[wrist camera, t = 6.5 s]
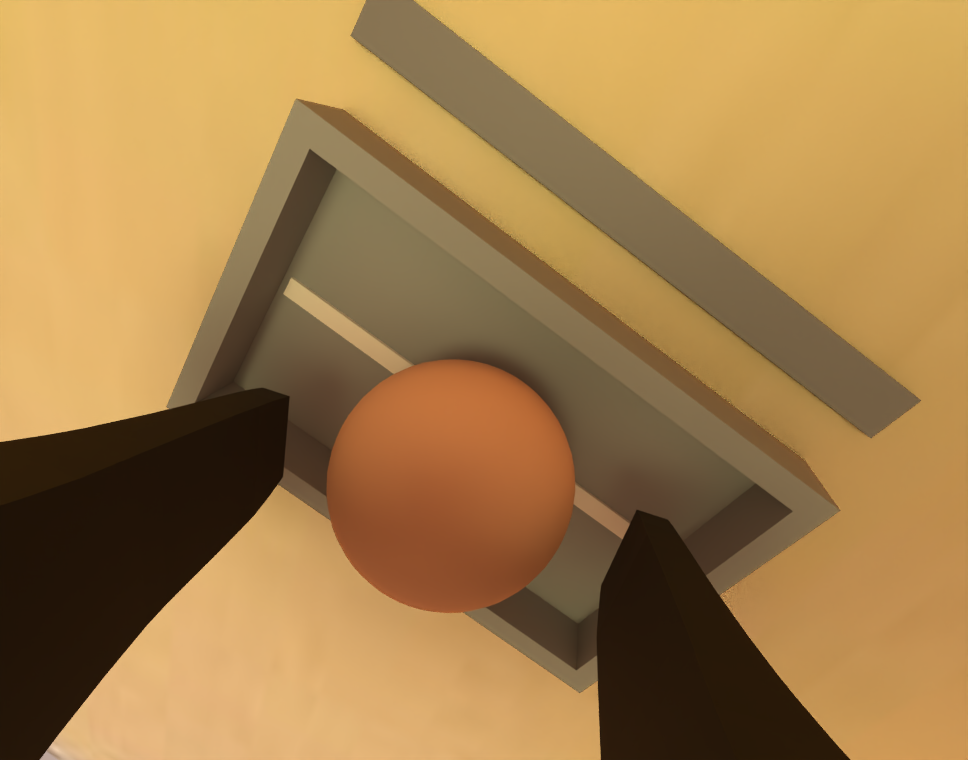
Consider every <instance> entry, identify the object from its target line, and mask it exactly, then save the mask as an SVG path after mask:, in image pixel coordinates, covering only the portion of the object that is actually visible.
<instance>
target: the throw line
mask: <svg viewBox="0 0 968 760" xmlns="http://www.w3.org/2000/svg"><path fill="white" fill-rule="evenodd" d="M351 36H352V37H353V38H354V39H355V40H357V41H358V42H359V43H361V44H362V45H363V46H364V47H366V48H367V49H368V50H370V51H371V52H372V53H374V54H375V55H376V56H377V57H379V58H380V59H381V60H383V61H384V62H385V63H386V64H388V65H389V66H390V67H392V68H393V69H394V70H395V71H397V72H398V73H399V74H401V75H402V76H403V77H405V78H406V79H407V80H408V81H410V82H411V83H412V84H414V85H415V86H416V87H417V88H419V89H420V90H421V91H423V92H424V93H425V94H426V95H428V96H429V97H430V98H432V99H433V100H434V101H436V102H437V103H438V104H439V105H441V106H442V107H443V108H445V109H446V110H447V111H448V112H450V113H451V114H452V115H454V116H455V117H456V118H458V119H459V120H460V121H461V122H463V123H464V124H465V125H467V126H468V127H469V128H470V129H472V130H473V131H474V132H476V133H477V134H478V135H479V136H481V137H482V138H483V139H485V140H486V141H487V142H489V143H490V144H491V145H492V146H494V147H495V148H496V149H498V150H499V151H500V152H501V153H503V154H504V155H505V156H507V157H508V158H509V159H510V160H512V161H513V162H514V163H516V164H517V165H518V166H520V167H521V168H522V169H523V170H525V171H526V172H527V173H529V174H530V175H531V176H532V177H534V178H535V179H536V180H538V181H539V182H540V183H542V184H543V185H544V186H545V187H547V188H548V189H549V190H551V191H552V192H553V193H554V194H556V195H557V196H558V197H560V198H561V199H562V200H563V201H565V202H566V203H567V204H569V205H570V206H571V207H573V208H574V209H575V210H576V211H578V212H579V213H580V214H582V215H583V216H584V217H585V218H587V219H588V220H589V221H591V222H592V223H593V224H594V225H596V226H597V227H598V228H600V229H601V230H602V231H604V232H605V233H606V234H607V235H609V236H610V237H611V238H613V239H614V240H615V241H616V242H618V243H619V244H620V245H622V246H623V247H624V248H626V249H627V250H628V251H629V252H631V253H632V254H633V255H635V256H636V257H637V258H638V259H640V260H641V261H642V262H644V263H645V264H646V265H647V266H649V267H650V268H651V269H653V270H654V271H655V272H657V273H658V274H659V275H660V276H662V277H663V278H664V279H666V280H667V281H668V282H669V283H671V284H672V285H673V286H675V287H676V288H677V289H679V290H680V291H681V292H682V293H684V294H685V295H686V296H688V297H689V298H690V299H691V300H693V301H694V302H695V303H697V304H698V305H699V306H700V307H702V308H703V309H704V310H706V311H707V312H708V313H710V314H711V315H712V316H713V317H715V318H716V319H717V320H719V321H720V322H721V323H722V324H724V325H725V326H726V327H728V328H729V329H730V330H731V331H733V332H734V333H735V334H737V335H738V336H739V337H741V338H742V339H743V340H744V341H746V342H747V343H748V344H750V345H751V346H752V347H753V348H755V349H756V350H757V351H759V352H760V353H761V354H763V355H764V356H765V357H766V358H768V359H769V360H770V361H772V362H773V363H774V364H775V365H777V366H778V367H779V368H781V369H782V370H783V371H784V372H786V373H787V374H788V375H790V376H791V377H792V378H794V379H795V380H796V381H797V382H799V383H800V384H801V385H803V386H804V387H805V388H806V389H808V390H809V391H810V392H812V393H813V394H814V395H815V396H817V397H818V398H819V399H821V400H822V401H823V402H825V403H826V404H827V405H828V406H830V407H831V408H832V409H834V410H835V411H836V412H837V413H839V414H840V415H841V416H843V417H844V418H845V419H847V420H848V421H849V422H850V423H852V424H853V425H854V426H856V427H857V428H858V429H859V430H861V431H862V432H863V433H865V434H866V435H867V436H868V437H870V438H872V437H873V436H875V435H876V434H877V433H879V432H880V431H881V430H883V429H884V428H885V427H887V426H888V425H889V424H891V423H892V422H893V421H895V420H896V419H897V418H899V417H900V416H901V415H903V414H904V413H905V412H907V411H908V410H909V409H911V408H912V407H913V406H915V405H916V404H917V403H919V402H920V401H921V400H920V399H918V398H917V397H916V396H915V395H913V394H912V393H911V392H910V391H908V390H907V389H906V388H905V387H903V386H902V385H901V384H899V383H898V382H897V381H896V380H894V379H893V378H892V377H891V376H889V375H888V374H887V373H885V372H884V371H883V370H882V369H880V368H879V367H878V366H877V365H875V364H874V363H873V362H871V361H870V360H869V359H868V358H866V357H865V356H864V355H863V354H861V353H860V352H859V351H858V350H856V349H855V348H854V347H852V346H851V345H850V344H849V343H847V342H846V341H845V340H844V339H842V338H841V337H840V336H838V335H837V334H836V333H835V332H833V331H832V330H831V329H830V328H828V327H827V326H826V325H825V324H823V323H822V322H821V321H819V320H818V319H817V318H816V317H814V316H813V315H812V314H811V313H809V312H808V311H807V310H805V309H804V308H803V307H802V306H800V305H799V304H798V303H797V302H795V301H794V300H793V299H792V298H790V297H789V296H788V295H786V294H785V293H784V292H783V291H781V290H780V289H779V288H778V287H776V286H775V285H774V284H772V283H771V282H770V281H769V280H767V279H766V278H765V277H764V276H762V275H761V274H760V273H758V272H757V271H756V270H755V269H753V268H752V267H751V266H750V265H748V264H747V263H746V262H745V261H743V260H742V259H741V258H739V257H738V256H737V255H736V254H734V253H733V252H732V251H731V250H729V249H728V248H727V247H725V246H724V245H723V244H722V243H720V242H719V241H718V240H717V239H715V238H714V237H713V236H712V235H710V234H709V233H708V232H706V231H705V230H704V229H703V228H701V227H700V226H699V225H698V224H696V223H695V222H694V221H692V220H691V219H690V218H689V217H687V216H686V215H685V214H684V213H682V212H681V211H680V210H679V209H677V208H676V207H675V206H673V205H672V204H671V203H670V202H668V201H667V200H666V199H665V198H663V197H662V196H661V195H659V194H658V193H657V192H656V191H654V190H653V189H652V188H651V187H649V186H648V185H647V184H645V183H644V182H643V181H642V180H640V179H639V178H638V177H637V176H635V175H634V174H633V173H632V172H630V171H629V170H628V169H626V168H625V167H624V166H623V165H621V164H620V163H619V162H618V161H616V160H615V159H614V158H612V157H611V156H610V155H609V154H607V153H606V152H605V151H604V150H602V149H601V148H600V147H599V146H597V145H596V144H595V143H593V142H592V141H591V140H590V139H588V138H587V137H586V136H585V135H583V134H582V133H581V132H579V131H578V130H577V129H576V128H574V127H573V126H572V125H571V124H569V123H568V122H567V121H566V120H564V119H563V118H562V117H560V116H559V115H558V114H557V113H555V112H554V111H553V110H552V109H550V108H549V107H548V106H546V105H545V104H544V103H543V102H541V101H540V100H539V99H538V98H536V97H535V96H534V95H532V94H531V93H530V92H529V91H527V90H526V89H525V88H524V87H522V86H521V85H520V84H519V83H517V82H516V81H515V80H513V79H512V78H511V77H510V76H508V75H507V74H506V73H505V72H503V71H502V70H501V69H499V68H498V67H497V66H496V65H494V64H493V63H492V62H491V61H489V60H488V59H487V58H486V57H484V56H483V55H482V54H480V53H479V52H478V51H477V50H475V49H474V48H473V47H472V46H470V45H469V44H468V43H466V42H465V41H464V40H463V39H461V38H460V37H459V36H458V35H456V34H455V33H454V32H453V31H451V30H450V29H449V28H447V27H446V26H445V25H444V24H442V23H441V22H440V21H439V20H437V19H436V18H435V17H433V16H432V15H431V14H430V13H428V12H427V11H426V10H425V9H423V8H422V7H421V6H419V5H418V4H417V3H416V2H414V1H413V0H366V2H365V5H364V7H363V9H362V11H361V14H360V16H359V18H358V20H357V23H356V25H355V27H354V29H353V32H352V34H351Z"/></svg>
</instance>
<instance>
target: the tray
mask: <svg viewBox="0 0 968 760" xmlns="http://www.w3.org/2000/svg"><path fill="white" fill-rule="evenodd" d="M449 359H460V360H470V361H476V362H480V363H484V364H488V365H491V366H494V367H496V368H499V369H502V370H503V371H505V372H507V373H509V374H511V375H513V376H515V377H517V378H518V379H519V380H521V381H522V382H524V383H525V384H527V385H528V386H529V387H530V388H531V389H533V390H534V391H535V392H536V393H537V394H538V395H539V396H540V397H541V398H542V399H543V401H544V402H545V403H546V404H547V405H548V406H549V408H550V409H551V411H552V412H553V413H554V415H555V416H556V418H557V419H558V421H559V423H560V425H561V427H562V429H563V431H564V433H565V436H566V438H567V441H568V444H569V447H570V450H571V453H572V458H573V464H574V471H575V496H574V504H573V510H572V516H571V519H570V522H569V525H568V528H567V531H566V533H565V536H564V538H563V540H562V542H561V544H560V546H559V548H558V550H557V551H556V553H555V554H554V556H553V557H552V559H551V560H550V562H549V563H548V564H547V566H546V567H545V568H544V569H543V570H542V571H541V572H540V573H539V574H538V575H537V576H536V577H535V578H534V579H533V580H532V581H531V582H530V583H529V584H528V585H527V586H525V587H524V588H523V589H521V590H520V591H519V592H517V593H515V594H514V595H512V596H510V597H508V598H506V599H505V600H503V601H501V602H499V603H496V604H493V605H491V606H488V607H484V608H481V609H477V610H472V611H467V612H463V613H465V614H466V615H468V616H469V617H471V618H472V619H474V620H475V621H476V622H478V623H479V624H481V625H482V626H484V627H485V628H487V629H488V630H489V631H491V632H492V633H494V634H495V635H497V636H498V637H500V638H501V639H502V640H504V641H505V642H507V643H508V644H510V645H511V646H513V647H514V648H515V649H517V650H518V651H520V652H521V653H523V654H524V655H526V656H527V657H528V658H530V659H531V660H533V661H534V662H536V663H537V664H539V665H540V666H541V667H543V668H544V669H546V670H547V671H549V672H550V673H552V674H553V675H554V676H556V677H557V678H559V679H560V680H562V681H563V682H565V683H566V684H567V685H569V686H570V687H572V688H573V689H575V690H576V691H578V692H579V693H581V692H582V691H583V690H585V689H586V688H588V687H589V686H591V685H592V684H593V683H595V682H596V681H598V671H597V638H596V636H597V622H598V610H599V600H600V589H601V584H602V582H603V580H604V578H605V576H606V574H607V572H608V569H609V567H610V565H611V563H612V561H613V559H614V557H615V555H616V552H617V550H618V548H619V546H620V544H621V542H622V540H623V538H624V535H625V533H626V531H627V529H628V527H629V525H630V523H631V521H632V518H633V516H634V514H635V512H636V510H640V511H643V512H646V513H649V514H652V515H655V516H658V517H662V518H665V519H668V520H669V521H670V523H671V524H672V525H673V527H674V528H675V530H676V531H677V533H678V534H679V536H680V537H681V539H682V540H683V542H684V543H685V545H686V546H687V548H688V549H689V551H690V552H691V554H692V555H693V557H694V558H695V560H696V561H697V563H698V564H699V566H700V567H701V569H702V570H703V572H704V573H705V575H706V576H707V578H708V579H709V581H710V582H711V584H712V585H713V587H714V588H715V590H716V591H717V593H718V594H719V595H721V594H722V593H723V592H725V591H726V590H728V589H729V588H731V587H732V586H733V585H735V584H736V583H738V582H739V581H741V580H742V579H743V578H745V577H746V576H748V575H749V574H751V573H752V572H753V571H755V570H756V569H758V568H759V567H761V566H762V565H763V564H765V563H766V562H768V561H769V560H771V559H772V558H773V557H775V556H776V555H778V554H779V553H781V552H782V551H783V550H785V549H786V548H788V547H789V546H791V545H792V544H793V543H795V542H796V541H798V540H799V539H801V538H802V537H803V536H805V535H806V534H808V533H809V532H811V531H812V530H813V529H815V528H816V527H818V526H819V525H821V524H822V523H823V522H825V521H826V520H828V519H829V518H831V517H832V516H833V515H835V514H836V513H838V512H839V511H840V509H839V508H838V506H837V505H836V504H835V502H834V501H833V499H832V498H831V497H830V495H829V494H828V492H827V491H826V490H825V488H824V487H823V485H822V484H821V483H820V481H819V480H818V479H817V477H816V476H815V474H814V473H813V472H812V470H811V469H810V467H809V466H808V465H807V463H806V462H805V461H804V460H803V459H802V458H800V457H799V456H798V455H796V454H795V453H794V452H793V451H791V450H790V449H789V448H787V447H786V446H785V445H783V444H782V443H781V442H779V441H778V440H777V439H775V438H774V437H773V436H771V435H770V434H769V433H768V432H766V431H765V430H764V429H762V428H761V427H760V426H758V425H757V424H756V423H754V422H753V421H752V420H750V419H749V418H748V417H746V416H745V415H744V414H743V413H741V412H740V411H739V410H737V409H736V408H735V407H733V406H732V405H731V404H729V403H728V402H727V401H725V400H724V399H723V398H722V397H720V396H719V395H718V394H716V393H715V392H714V391H712V390H711V389H710V388H708V387H707V386H706V385H704V384H703V383H702V382H700V381H699V380H698V379H697V378H695V377H694V376H693V375H691V374H690V373H689V372H687V371H686V370H685V369H683V368H682V367H681V366H679V365H678V364H677V363H676V362H674V361H673V360H672V359H670V358H669V357H668V356H666V355H665V354H664V353H662V352H661V351H660V350H658V349H657V348H656V347H654V346H653V345H652V344H651V343H649V342H648V341H647V340H645V339H644V338H643V337H641V336H640V335H639V334H637V333H636V332H635V331H633V330H632V329H631V328H630V327H628V326H627V325H626V324H624V323H623V322H622V321H620V320H619V319H618V318H616V317H615V316H614V315H612V314H611V313H610V312H608V311H607V310H606V309H605V308H603V307H602V306H601V305H599V304H598V303H597V302H595V301H594V300H593V299H591V298H590V297H589V296H587V295H586V294H585V293H584V292H582V291H581V290H580V289H578V288H577V287H576V286H574V285H573V284H572V283H570V282H569V281H568V280H566V279H565V278H564V277H562V276H561V275H560V274H559V273H557V272H556V271H555V270H553V269H552V268H551V267H549V266H548V265H547V264H545V263H544V262H543V261H541V260H540V259H539V258H538V257H536V256H535V255H534V254H532V253H531V252H530V251H528V250H527V249H526V248H524V247H523V246H522V245H520V244H519V243H518V242H516V241H515V240H514V239H513V238H511V237H510V236H509V235H507V234H506V233H505V232H503V231H502V230H501V229H499V228H498V227H497V226H495V225H494V224H493V223H491V222H490V221H489V220H488V219H486V218H485V217H484V216H482V215H481V214H480V213H478V212H477V211H476V210H474V209H473V208H472V207H470V206H469V205H468V204H467V203H465V202H464V201H463V200H461V199H460V198H459V197H457V196H456V195H455V194H453V193H452V192H451V191H449V190H448V189H447V188H445V187H444V186H443V185H442V184H440V183H439V182H438V181H436V180H435V179H434V178H432V177H431V176H430V175H428V174H427V173H426V172H424V171H423V170H422V169H421V168H419V167H418V166H417V165H415V164H414V163H413V162H411V161H410V160H409V159H407V158H406V157H405V156H403V155H402V154H401V153H399V152H398V151H397V150H396V149H394V148H393V147H392V146H390V145H389V144H388V143H386V142H385V141H384V140H382V139H381V138H380V137H378V136H377V135H376V134H375V133H373V132H372V131H371V130H369V129H368V128H367V127H365V126H364V125H363V124H361V123H360V122H359V121H357V120H356V119H355V118H353V117H352V116H351V115H350V114H348V113H347V112H346V111H344V110H342V109H338V108H334V107H330V106H325V105H321V104H317V103H313V102H308V101H304V100H300V99H296V100H295V102H294V104H293V107H292V109H291V112H290V114H289V116H288V119H287V121H286V124H285V126H284V128H283V131H282V133H281V135H280V138H279V140H278V143H277V145H276V147H275V150H274V152H273V154H272V157H271V159H270V162H269V164H268V166H267V169H266V171H265V174H264V176H263V178H262V181H261V183H260V185H259V188H258V190H257V193H256V195H255V197H254V200H253V202H252V205H251V207H250V209H249V212H248V214H247V216H246V219H245V221H244V224H243V226H242V228H241V231H240V233H239V235H238V238H237V240H236V243H235V245H234V247H233V250H232V252H231V255H230V257H229V259H228V262H227V264H226V266H225V269H224V271H223V274H222V276H221V278H220V281H219V283H218V285H217V288H216V290H215V293H214V295H213V297H212V300H211V302H210V305H209V307H208V309H207V312H206V314H205V316H204V319H203V321H202V324H201V326H200V328H199V331H198V333H197V336H196V338H195V340H194V343H193V345H192V347H191V350H190V352H189V355H188V357H187V359H186V362H185V364H184V366H183V369H182V371H181V374H180V376H179V378H178V381H177V383H176V386H175V388H174V390H173V393H172V395H171V397H170V400H169V402H168V405H167V408H169V409H172V408H176V407H180V406H184V405H188V404H192V403H196V402H200V401H204V400H207V399H211V398H215V397H219V396H223V395H228V394H232V393H236V392H240V391H245V390H250V389H256V388H262V387H263V388H266V389H269V390H272V391H275V392H278V393H281V394H284V395H287V396H290V400H289V412H288V424H287V436H286V448H285V461H284V473H283V478H282V479H281V481H280V482H279V483H278V485H280V486H281V487H283V488H284V489H286V490H287V491H289V492H290V493H291V494H293V495H294V496H296V497H297V498H299V499H300V500H302V501H303V502H304V503H306V504H307V505H309V506H310V507H312V508H313V509H315V510H316V511H317V512H319V513H320V514H322V515H323V516H325V517H326V518H328V519H329V520H330V521H331V519H330V514H329V510H328V504H327V471H328V466H329V461H330V457H331V452H332V448H333V446H334V443H335V440H336V438H337V436H338V433H339V431H340V429H341V427H342V425H343V424H344V422H345V420H346V419H347V417H348V415H349V414H350V413H351V411H352V410H353V409H354V407H355V406H356V405H357V404H358V403H359V401H360V400H361V399H362V398H363V397H364V396H365V395H366V394H367V393H368V392H370V391H371V390H372V389H373V388H374V387H375V386H377V385H378V384H379V383H380V382H382V381H383V380H385V379H387V378H388V377H390V376H391V375H393V374H395V373H398V372H400V371H402V370H404V369H406V368H409V367H411V366H414V365H417V364H421V363H424V362H430V361H437V360H449Z"/></svg>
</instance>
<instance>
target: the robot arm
mask: <svg viewBox="0 0 968 760" xmlns="http://www.w3.org/2000/svg"><path fill="white" fill-rule="evenodd" d="M289 400H290V396H287V395H284V394H281V393H278V392H275V391H272V390H269V389H266V388H263V387H262V388H256V389H250V390H245V391H240V392H236V393H232V394H228V395H223V396H219V397H215V398H211V399H207V400H204V401H200V402H196V403H192V404H188V405H184V406H180V407H176V408H172V409H168V410H164V411H160V412H156V413H152V414H147V415H143V416H138V417H134V418H129V419H124V420H120V421H115V422H111V423H106V424H102V425H97V426H92V427H88V428H83V429H78V430H72V431H67V432H61V433H56V434H50V435H44V436H38V437H31V438H25V439H18V440H11V441H5V442H0V760H40V758H41V757H42V756H43V754H44V753H45V752H46V750H47V749H48V748H49V746H50V745H51V744H52V742H53V741H54V740H55V738H56V737H57V736H58V734H59V733H60V732H61V731H62V729H63V728H64V727H65V726H66V724H67V723H68V722H69V721H70V719H71V718H72V717H73V716H74V714H75V713H76V712H77V710H78V709H79V708H80V707H81V705H82V704H83V703H84V702H85V700H86V699H87V698H88V697H89V695H90V694H91V693H92V691H93V690H94V689H95V688H96V686H97V685H98V684H99V683H100V681H101V680H102V679H103V678H104V676H105V675H106V674H107V673H108V671H109V670H110V669H111V668H112V667H113V665H114V664H115V663H116V662H117V661H118V659H119V658H120V657H121V656H122V655H123V653H124V652H125V651H126V650H127V649H128V647H129V646H130V645H131V644H132V643H133V641H134V640H135V639H136V638H137V637H138V635H139V634H140V633H141V632H142V630H143V629H144V628H145V627H146V626H147V625H148V624H149V622H150V621H151V620H152V619H153V618H154V617H155V616H156V615H157V614H158V613H159V612H160V611H161V609H162V608H163V607H164V606H165V605H166V604H167V603H168V602H169V601H170V600H171V599H172V598H173V597H174V596H175V595H176V594H177V593H178V592H179V591H180V590H181V589H182V588H183V587H184V586H185V585H186V584H187V583H188V582H189V581H190V580H191V579H192V578H193V577H194V576H195V575H196V574H197V573H198V572H199V571H200V570H201V569H202V568H203V567H204V566H205V565H206V564H207V563H208V562H209V561H210V560H211V559H212V558H213V557H214V556H215V555H216V554H217V553H218V552H219V551H220V550H221V549H222V548H223V547H224V546H225V545H226V544H227V543H228V542H229V541H230V540H231V539H232V538H233V537H234V536H235V535H236V534H237V533H238V532H239V531H240V530H241V529H242V528H243V526H244V525H245V524H246V523H247V522H248V521H249V520H250V519H251V518H252V517H253V516H254V515H255V514H256V512H257V511H258V510H259V508H260V507H261V506H262V505H263V503H264V502H265V501H266V500H267V498H268V497H269V496H270V494H271V493H272V491H273V490H274V489H275V487H276V486H277V485H278V483H279V482H280V481H281V479H282V478H283V473H284V461H285V448H286V436H287V424H288V412H289ZM596 638H597V671H598V697H599V722H600V747H601V760H850V759H849V758H848V757H847V756H846V755H845V753H844V752H843V751H842V750H841V749H840V748H839V747H838V746H837V745H836V743H835V742H834V741H833V740H832V739H831V738H830V736H829V735H828V734H827V733H826V732H825V731H824V730H823V728H822V727H821V726H820V725H819V724H818V723H817V721H816V720H815V719H814V718H813V717H812V716H811V714H810V713H809V712H808V711H807V710H806V709H805V707H804V706H803V705H802V704H801V703H800V702H799V700H798V699H797V698H796V697H795V696H794V694H793V693H792V692H791V691H790V690H789V688H788V687H787V686H786V685H785V683H784V682H783V681H782V680H781V678H780V677H779V676H778V675H777V673H776V672H775V671H774V669H773V668H772V667H771V666H770V664H769V663H768V662H767V660H766V659H765V658H764V656H763V655H762V654H761V652H760V651H759V650H758V648H757V647H756V646H755V645H754V643H753V642H752V641H751V639H750V638H749V637H748V635H747V634H746V632H745V631H744V630H743V628H742V627H741V626H740V624H739V623H738V621H737V620H736V619H735V617H734V616H733V614H732V613H731V612H730V610H729V609H728V607H727V606H726V604H725V603H724V602H723V600H722V599H721V597H720V596H719V594H718V593H717V591H716V590H715V588H714V587H713V585H712V584H711V582H710V581H709V579H708V578H707V576H706V575H705V573H704V572H703V570H702V569H701V567H700V566H699V564H698V563H697V561H696V560H695V558H694V557H693V555H692V554H691V552H690V551H689V549H688V548H687V546H686V545H685V543H684V542H683V540H682V539H681V537H680V536H679V534H678V533H677V531H676V530H675V528H674V527H673V525H672V524H671V523H670V521H669V520H668V519H665V518H662V517H658V516H655V515H652V514H649V513H646V512H643V511H640V510H636V512H635V514H634V516H633V518H632V521H631V523H630V525H629V527H628V529H627V531H626V533H625V535H624V538H623V540H622V542H621V544H620V546H619V548H618V550H617V552H616V555H615V557H614V559H613V561H612V563H611V565H610V567H609V569H608V572H607V574H606V576H605V578H604V580H603V582H602V584H601V589H600V600H599V610H598V622H597V636H596Z"/></svg>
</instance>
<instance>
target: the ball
mask: <svg viewBox="0 0 968 760" xmlns="http://www.w3.org/2000/svg"><path fill="white" fill-rule="evenodd" d="M574 496H575V471H574V464H573V458H572V453H571V450H570V447H569V444H568V441H567V438H566V436H565V433H564V431H563V429H562V427H561V425H560V423H559V421H558V419H557V418H556V416H555V415H554V413H553V412H552V411H551V409H550V408H549V406H548V405H547V404H546V403H545V402H544V401H543V399H542V398H541V397H540V396H539V395H538V394H537V393H536V392H535V391H534V390H533V389H531V388H530V387H529V386H528V385H527V384H525V383H524V382H522V381H521V380H519V379H518V378H517V377H515V376H513V375H511V374H509V373H507V372H505V371H503V370H502V369H499V368H496V367H494V366H491V365H488V364H484V363H480V362H476V361H470V360H460V359H449V360H437V361H430V362H424V363H421V364H417V365H414V366H411V367H409V368H406V369H404V370H402V371H400V372H398V373H395V374H393V375H391V376H390V377H388V378H387V379H385V380H383V381H382V382H380V383H379V384H378V385H377V386H375V387H374V388H373V389H372V390H371V391H370V392H368V393H367V394H366V395H365V396H364V397H363V398H362V399H361V400H360V401H359V403H358V404H357V405H356V406H355V407H354V409H353V410H352V411H351V413H350V414H349V415H348V417H347V419H346V420H345V422H344V424H343V425H342V427H341V429H340V431H339V433H338V436H337V438H336V440H335V443H334V446H333V448H332V452H331V457H330V461H329V466H328V471H327V504H328V510H329V514H330V519H331V523H332V527H333V530H334V532H335V535H336V537H337V540H338V542H339V544H340V545H341V547H342V549H343V551H344V553H345V555H346V557H347V558H348V559H349V561H350V562H351V564H352V565H353V566H354V568H355V569H356V570H357V571H358V572H359V573H360V574H361V575H362V576H363V577H364V578H365V579H366V580H367V581H368V582H369V583H370V584H372V585H373V586H374V587H375V588H377V589H378V590H379V591H381V592H382V593H384V594H385V595H387V596H389V597H390V598H392V599H394V600H396V601H398V602H400V603H403V604H405V605H408V606H411V607H414V608H418V609H421V610H427V611H433V612H443V613H459V612H467V611H472V610H477V609H481V608H484V607H488V606H491V605H493V604H496V603H499V602H501V601H503V600H505V599H506V598H508V597H510V596H512V595H514V594H515V593H517V592H519V591H520V590H521V589H523V588H524V587H525V586H527V585H528V584H529V583H530V582H531V581H532V580H533V579H534V578H535V577H536V576H537V575H538V574H539V573H540V572H541V571H542V570H543V569H544V568H545V567H546V566H547V564H548V563H549V562H550V560H551V559H552V557H553V556H554V554H555V553H556V551H557V550H558V548H559V546H560V544H561V542H562V540H563V538H564V536H565V533H566V531H567V528H568V525H569V522H570V519H571V516H572V510H573V504H574Z"/></svg>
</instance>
